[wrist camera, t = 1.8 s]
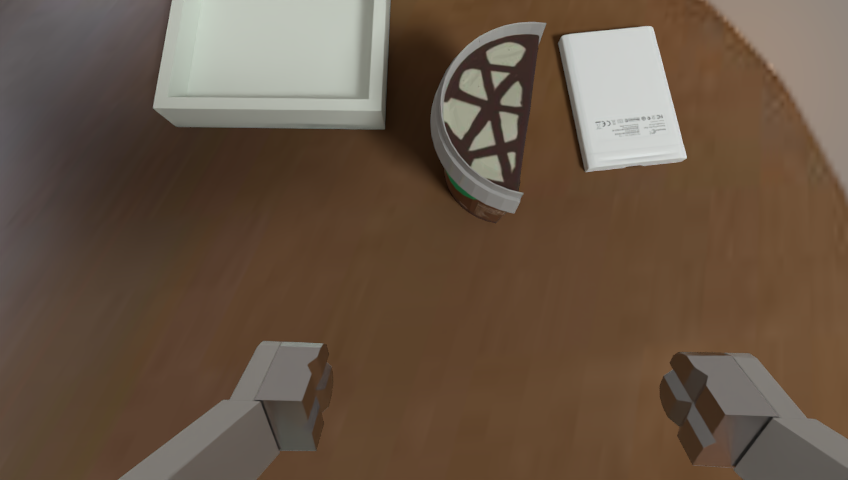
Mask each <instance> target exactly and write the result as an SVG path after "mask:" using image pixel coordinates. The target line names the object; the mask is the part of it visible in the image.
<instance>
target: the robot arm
mask: <svg viewBox="0 0 848 480" xmlns="http://www.w3.org/2000/svg"><path fill="white" fill-rule="evenodd" d="M328 356H329V352H328V348H327V345H326V344H321V343H301V342H276V341H263V342H262V343H261V344H259V345H258V346H257V348H256V350H255V352H254V354H253V356H252V358H251V360H250V362H249V364H248V365H247V367H246V369H245V371H244V373H243V375H242V377H241V379H240V381H239V383H238V385H237V386H236V388H235V390H234V392H233V394H232V396H231V398H230V400H222V401H221V402H220V403H218V404H217V405H216V406H214V407H213V408H212V409H210V410H209V411H208V412H206V413H205V414H204V415H202V416H201V417H200V418H199V419H197V420H196V421H195V422H193V423H192V424H191V425H189V426H188V427H187V428H185V429H184V430H183V431H181V432H180V433H179V434H177V435H176V436H175V437H173V438H172V439H171V440H169V441H168V442H167V443H166V444H164V445H163V446H162V447H160V448H159V449H158V450H156V451H155V452H154V453H152V454H151V455H150V456H148V457H147V458H146V459H144V460H143V461H142V462H140V463H139V464H138V465H137V466H135V467H134V468H133V469H131V470H130V471H129V472H127V473H126V474H125V475H123V476H122V477H121V478H119V479H118V480H256V479H257V478H258V477H259V476H260V475H261V473H262V472H263V471H264V470H265V469H266V468H267V467H268V466H269V464H270V463H271V462H272V461H273V460H274V459H275V458H276V457H277V455H278V454H279V453H280V452H279V451H316V450H317V447H318V443H319V440H320V436H321V433H322V429H323V426H324V421H323V417H322V412H323V411H324V410H325V409H326V408H327V407H329V404H330V400H331V396H332V389H333V371H332V366H330V365H329V364H328V363H327V359H328ZM670 364H671V366H672V368H673V370H672V371H670V372H669V373H667V374H666V375H664V376H663V379H662V381H661V384H660V399H661V403H662V406H663V409H664V411H665V413H666V415H667V417H668V418H669V419H671V420H672V421H673V422H674V423H676V424H677V425H678V426H679V431H678V435H677V436H678V438H679V440H680V442H681V444H682V446H683V448H684V450H685V452H686V453H687V455H688V457H689V459H690V461H691V463H692V465H697V466H712V467H728V468H734V471H735V472H736V473H737V474H738V475H739V476H740V477H741V478H742V479H744V480H848V439H847V438H845V437H843V436H842V435H840V434H838V433H837V432H835V431H834V430H832V429H830V428H829V427H827V426H826V425H824V424H822V423H821V422H819V421H817V420H816V419H807V418H806V416H805V415H804V414H803V413H802V412H801V410H800V409H799V408H798V407H797V406H796V404H795V403H794V402H793V401H792V400H791V398H790V397H789V396H788V395H787V394H786V393H785V391H784V390H783V389H782V388H781V387H780V385H779V384H778V383H777V382H776V381H775V379H774V378H773V377H772V376H771V375H770V373H769V372H768V371H767V370H766V369H765V368H764V366H763V365H762V364H761V363H760V362H759V360H758V359H757V358H756V357H754V356H753V355H751V354H749V353H715V352H678V353H676V354H675V355H673V357H672V359H671V361H670Z"/></svg>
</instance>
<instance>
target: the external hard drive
mask: <svg viewBox="0 0 848 480" xmlns="http://www.w3.org/2000/svg"><path fill="white" fill-rule="evenodd" d="M558 45H559V50H560V55H561V60H562V64H563V69H564V73H565V78H566V83H567V88H568V93H569V97H570V102H571V107H572V112H573V117H574V122H575V126H576V131H577V136H578V141H579V146H580V150H581V155H582V160H583V165H584V169H585V172H590V171H599V170H608V169H618V168H625V167H628V166H636V165H641V166H646V165H656V164H665V163H675V162H681V161H683V160H685V159H686V158H687V156H686V152H685V149H684V145H683V141H682V137H681V133H680V130H679V125H678V122H677V117H676V114H675V110H674V106H673V102H672V98H671V94H670V91H669V87H668V83H667V79H666V75H665V71H664V68H663V63H662V60H661V56H660V52H659V48H658V45H657V41H656V37H655V33H654V30H653V27H651V26H643V27H633V28H624V29H614V30H604V31H593V32H584V33H574V34H567V35H563V36H562V37H561V38H560V40H559V42H558Z"/></svg>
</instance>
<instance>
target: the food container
mask: <svg viewBox="0 0 848 480" xmlns="http://www.w3.org/2000/svg"><path fill="white" fill-rule="evenodd" d="M545 25H546V23H540V22H524V23H515V24H510V25H505V26H502V27H499V28H496V29H493V30H491V31H489V32H487V33H485V34H483V35H481V36H479V37H478V38H477V39H475V40H474V41H473V42H471V43H470V44H468V45H467V46H466V47H465V48H464V49H463V51H462V52H461V53H460V54H459V55H458V56H457V57H456V58H455V59H454V60H453V61H452V63H451V64H450V66H449V67H448V68H447V70H446V72H445V74H444V76H443V78H442V80H441V82H440V84H439V87H438V89H437V91H436V94H435V97H434V101H433V104H432V109H431V119H430V123H431V135H432V139H433V143H434V147H435V150H436V152H437V155H438V157H439V159H440V162H441V163H442V165H443V166H444V172H445V179H446V183H447V186H448V188H449V190H450V192H451V194H452V196H453V197H454V199H455V200H456V201H457V202H458V203H459V204H460V206H461V207H463V208H464V209H465V210H466V211H468V212H469V213H471V214H472V215H474V216H476V217H478V218H480V219H483V220H485V221H489V222H493V223H496V222H497V221H498V220H499V219H500V218H501V217H502V216H503V215H504V214H505V213H506V212H510V213H515V211H516V209H517V207H518V205H519V203H520V198H521V197H522V195H523V193H521V192H518V191H519V186H520V174H521V166H522V159H523V153H524V146H525V139H526V132H527V126H528V120H529V114H530V107H531V98H532V89H533V81H534V74H535V66H536V59H537V52H538V45H539V42H540V39H541V37H542V34H543V31H544V28H545Z"/></svg>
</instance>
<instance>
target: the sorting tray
mask: <svg viewBox="0 0 848 480" xmlns="http://www.w3.org/2000/svg"><path fill="white" fill-rule="evenodd" d="M390 5H391V0H172V4H171V10H170V15H169V21H168V26H167V32H166V37H165V43H164V49H163V54H162V60H161V65H160V71H159V76H158V82H157V88H156V93H155V99H154V104H153V109H154V110H156V111H157V112H158V113H159V114H161V115H162V116H163V117H164V118H166V119H167V120H168V121H170V122H171V123H172V124H173V125H175V126H176V127H223V128H304V129H384V130H385V120H386V97H387V74H388V51H389V28H390Z"/></svg>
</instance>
